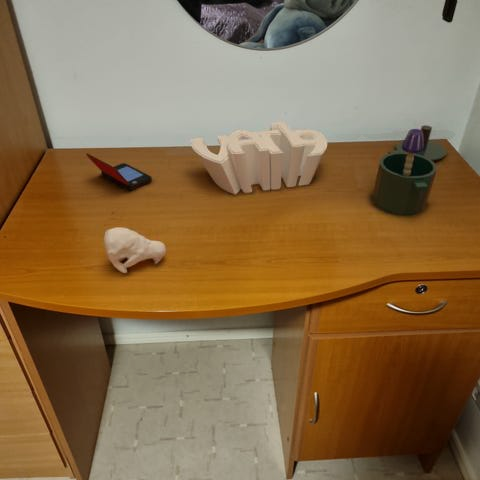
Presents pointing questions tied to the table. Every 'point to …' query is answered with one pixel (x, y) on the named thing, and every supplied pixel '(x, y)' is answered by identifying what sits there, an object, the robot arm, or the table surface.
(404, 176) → the pot
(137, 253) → the beige lumpy figure
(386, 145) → the table surface
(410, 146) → the toy lamp
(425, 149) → the lid
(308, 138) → the wavy white extrusion
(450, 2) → the robot arm
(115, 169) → the handheld console
